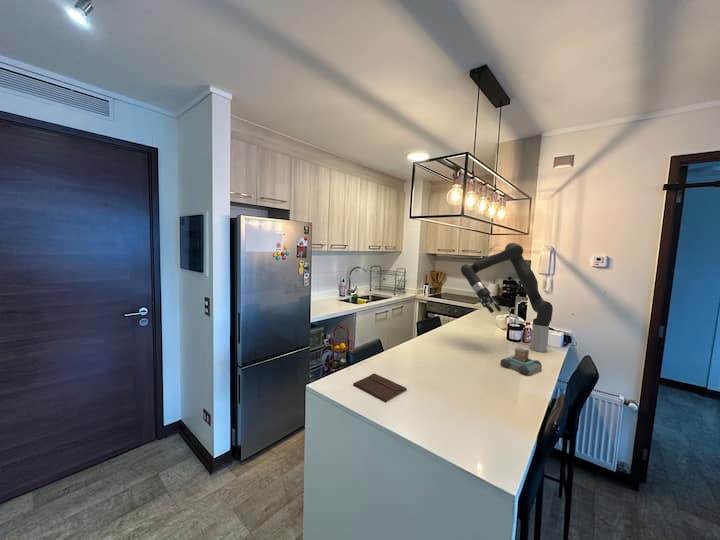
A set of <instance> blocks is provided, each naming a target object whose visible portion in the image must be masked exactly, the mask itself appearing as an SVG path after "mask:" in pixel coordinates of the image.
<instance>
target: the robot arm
mask: <svg viewBox="0 0 720 540" xmlns="http://www.w3.org/2000/svg"><path fill="white" fill-rule="evenodd" d="M523 253H524V248H523V246H522V245H520V244H519V243H516V242H509V243H508V244H507V245H506V246H505V248H504V250H502V251H500V252H498V253H495V254H492V255H491V254H490V255H488V256H484V257H482V258H480V259H478V260H476V261H474V262H473V264H471V265H470V264H467V263H465V264H463V265H462V266H461V267H460V272H461V274H462V276H463V277H465V279H466V280H467V282H468V283H469V285H470V287H471V288H472V290H473V291H474V293H475V295H476V296H477V298H478V300H479V302H480V304H481V305H482V307H483V308H484V309H487V310H488V312H489V313H490V314H492V313H494V312H495V310H494V309H493V307H492V306H494V308H495V309H496V311H497V312H501V311H502V308H501V306H500V305H499V304H500V302H499V300H498V299H497V298H496V296H494V295H493V296H491V292H490V290H489V289H488V287H487V286H486V285H485V283H483V282H482V280H481V279H480V278H479V277H478V275H477V274H478V272H481V271H483V270H485V269H488V268H491V267H492V266H495V265H497V264H500V263H503V262H506V261H510V262H511V263H512V266H513V268H514V271H515V273H516V276H517V278H518V280H519V282H520V284H521V286H522V288H523V290H524V292H525V293H526V295H527V298H528V300H529V303H530V305H531V309H532V311H534V312H535V313H536V317H535V318H533V319H532V325H531V326H532V330H531V337H530V339H531V340H530V350H532V351H534V352H540V353H546V352H548V350H547V349H548V344H549V343H548V340H549V329H550V323H551V322H552V317H553V311H554V307H553V305H552V303H551V302H549V301H548V300H547V301H546V300H544V299H543V297H542V295H541V293H540V292H539V284H538V283H539V282H538V279H537V277H536V276H535V274H534V272H533V270H532V268H531V267H530V266H529V264H528V263H527V262H526V260H525V259H524V257H523Z"/></svg>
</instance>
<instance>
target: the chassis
mask: <svg viewBox="0 0 720 540" xmlns="http://www.w3.org/2000/svg"><path fill="white" fill-rule="evenodd" d="M514 357H515V355H510V356H507V357H505V358H502V359H500V366H502V368H508V369H511V370H512V371H516V372H518V373H519V374H521V375H523V376H524V375H526V376H528V377H530V376H532V375H535V374H536V373H537V374H538V373H539V372H541V371H542V370H543V369H542V367H543V365H542V363H541V362H540V361H539V360H537V359H536V360H535V359H531V358H529V357H528V362H526V363H523V362H521V361H518V360H515V359H514Z"/></svg>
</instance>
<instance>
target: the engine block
mask: <svg viewBox="0 0 720 540" xmlns="http://www.w3.org/2000/svg"><path fill="white" fill-rule="evenodd" d="M529 351H530V350H529V348H526V347H522V346H518V347H515V349H514V356H515V357H514V359H515V360H518V361H521V362H523V363H526V362H528V358H529V354H530V352H529Z"/></svg>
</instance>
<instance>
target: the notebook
mask: <svg viewBox="0 0 720 540" xmlns="http://www.w3.org/2000/svg"><path fill="white" fill-rule="evenodd" d="M353 386H354V387H356V388H358V389H360V390H361V391H364V392H365V393H366V394H369V395H371V396H373V397H375V398H376V399H378V400H380V401H382V402H384V403H387V402H390V401H391V400H393V399H394V398H396V397H397V396H400V395H401V394H403V393H405V392H406V391H408V389H407V387H405V386H403V385H401V384H399V383H396V382H394V381H392V380H390V379H389V378H385V377H383V376H382V375H380V374H377V373H372V374H370V375H368V376H366V377H363V378H362V379H360V380H358V381H356V382H354V383H353Z"/></svg>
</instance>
